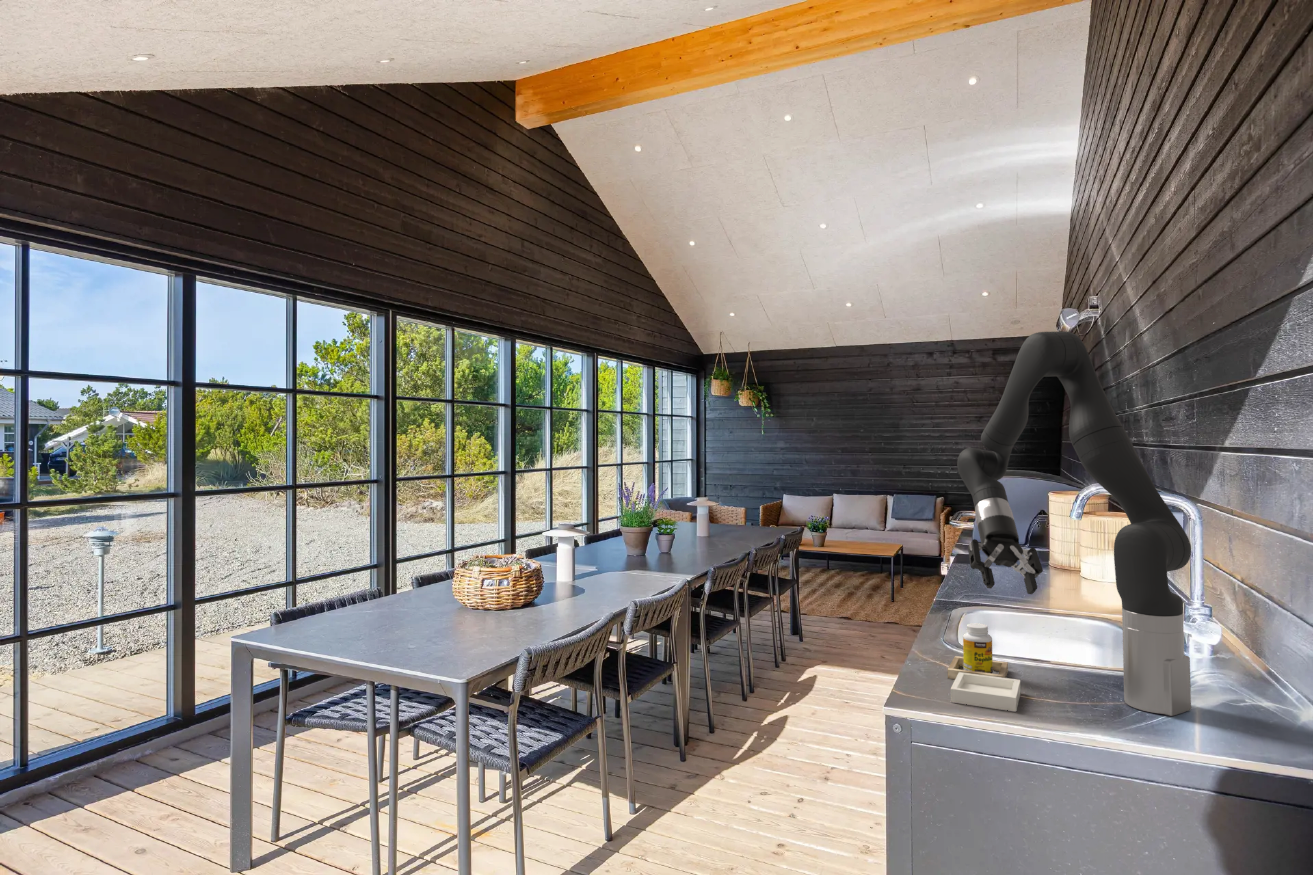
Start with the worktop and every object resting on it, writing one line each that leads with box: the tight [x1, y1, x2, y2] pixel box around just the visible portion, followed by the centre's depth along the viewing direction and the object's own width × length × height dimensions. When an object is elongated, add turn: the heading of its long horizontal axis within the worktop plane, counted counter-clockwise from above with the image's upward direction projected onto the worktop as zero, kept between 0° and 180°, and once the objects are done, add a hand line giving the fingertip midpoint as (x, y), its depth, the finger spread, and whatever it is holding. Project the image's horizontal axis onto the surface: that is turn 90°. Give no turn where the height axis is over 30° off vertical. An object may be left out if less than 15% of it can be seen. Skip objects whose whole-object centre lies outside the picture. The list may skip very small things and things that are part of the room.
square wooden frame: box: [947, 655, 1009, 680], centre depth 153 cm, size 10×10×2 cm
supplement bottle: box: [962, 622, 994, 674], centre depth 153 cm, size 6×6×10 cm
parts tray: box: [950, 672, 1022, 713], centre depth 140 cm, size 11×11×2 cm
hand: (1011, 589), depth 151 cm, fingers open, 8 cm apart
